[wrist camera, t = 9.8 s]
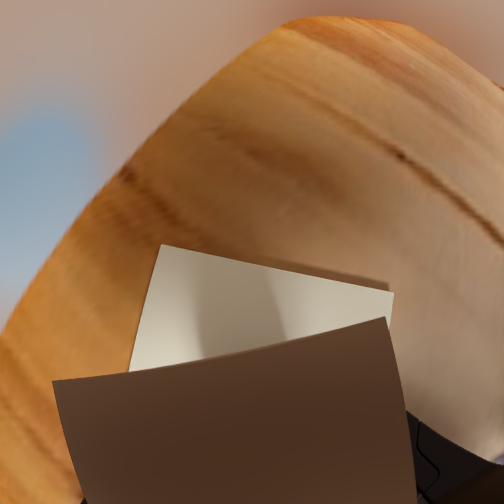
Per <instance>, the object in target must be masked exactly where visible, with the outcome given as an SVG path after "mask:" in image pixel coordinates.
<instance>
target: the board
mask: <svg viewBox="0 0 504 504" xmlns="http://www.w3.org/2000/svg"><path fill="white" fill-rule="evenodd" d="M393 298H394V292H389V291H384V290H379V289H374V288H369V287H364V286H359V285H354V284H349V283H344V282H339V281H334V280H329V279H324V278H319V277H314V276H310V275H305V274H300V273H295V272H290V271H285V270H281V269H276V268H271V267H266V266H262V265H257V264H252V263H247V262H243V261H238V260H233V259H228V258H224V257H219V256H214V255H210V254H205V253H200V252H196V251H191V250H186V249H182V248H177V247H173V246H168V245H163V244H161V247H160V250H159V253H158V257H157V260H156V264H155V267H154V271H153V274H152V278H151V281H150V285H149V289H148V292H147V296H146V300H145V304H144V308H143V312H142V316H141V320H140V324H139V328H138V332H137V336H136V340H135V345H134V349H133V354H132V358H131V363H130V367H129V372H131V371H138V370H144V369H151V368H157V367H162V366H168V365H174V364H179V363H184V362H190V361H195V360H200V359H206V358H211V357H216V356H221V355H226V354H231V353H236V352H241V351H245V350H250V349H255V348H259V347H263V346H268V345H272V344H276V343H280V342H285V341H289V340H293V339H297V338H302V337H306V336H310V335H314V334H319V333H323V332H327V331H331V330H335V329H339V328H343V327H347V326H350V325H354V324H358V323H362V322H365V321H369V320H372V319H376V318H379V317H383V316H385V317H386V321H387V325H388V329H389V328H390V321H391V314H392V306H393Z"/></svg>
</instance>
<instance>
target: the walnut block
mask: <svg viewBox="0 0 504 504" xmlns="http://www.w3.org/2000/svg"><path fill="white" fill-rule="evenodd" d="M52 383H53V389H54V394H55V398H56V403H57V408H58V412H59V416H60V420H61V424H62V428H63V432H64V435H65V439H66V443H67V446H68V449H69V453H70V456H71V459H72V462H73V465H74V468H75V471H76V474H77V477H78V480H79V483H80V485H81V488H82V491H83V493H84V496H85V499H86V501H87V504H417V492H416V481H415V471H414V463H413V455H412V447H411V440H410V433H409V427H408V421H407V415H406V409H405V403H404V398H403V392H402V387H401V382H400V377H399V372H398V368H397V363H396V359H395V354H394V350H393V346H392V341H391V337H390V333H389V329H388V325H387V321H386V317H385V316H383V317H379V318H376V319H372V320H369V321H365V322H362V323H358V324H354V325H350V326H347V327H343V328H339V329H335V330H331V331H327V332H323V333H319V334H314V335H310V336H306V337H302V338H297V339H293V340H289V341H285V342H280V343H276V344H272V345H268V346H263V347H259V348H255V349H250V350H245V351H241V352H236V353H231V354H226V355H221V356H216V357H211V358H206V359H200V360H195V361H190V362H184V363H179V364H174V365H168V366H162V367H157V368H151V369H144V370H138V371H131V372H125V373H118V374H110V375H103V376H95V377H86V378H77V379H67V380H57V381H52Z"/></svg>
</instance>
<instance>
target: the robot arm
mask: <svg viewBox="0 0 504 504" xmlns="http://www.w3.org/2000/svg"><path fill="white" fill-rule="evenodd" d="M406 415H407V421H408V427H409V433H410V440H411V447H412V455H413V463H414V471H415V481H416V492H417V504H504V465H501V464H496V463H492V462H489V461H487V460H485V459H483V458H481V457H479V456H477V455H475V454H473V453H471V452H469V451H468V450H466V449H464V448H462V447H460V446H458V445H456V444H455V443H453V442H451V441H449V440H448V439H446V438H444V437H443V436H441V435H440V434H438V433H437V432H435V431H434V430H432V429H431V428H430V427H428V426H427V425H426V424H424V423H423V422H422V421H420V422H419V419H417V418H416V417H415V416H413V415H412V414H411V413H409V412H408V411H407V410H406ZM81 504H87V501H86V499H85V497H84V499H83V500H82V502H81Z"/></svg>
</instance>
